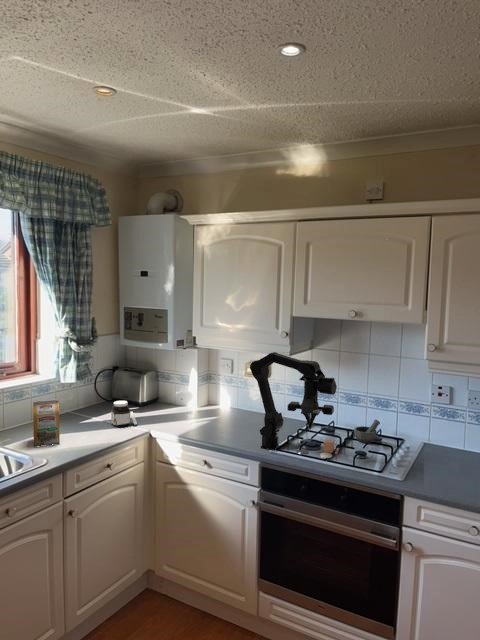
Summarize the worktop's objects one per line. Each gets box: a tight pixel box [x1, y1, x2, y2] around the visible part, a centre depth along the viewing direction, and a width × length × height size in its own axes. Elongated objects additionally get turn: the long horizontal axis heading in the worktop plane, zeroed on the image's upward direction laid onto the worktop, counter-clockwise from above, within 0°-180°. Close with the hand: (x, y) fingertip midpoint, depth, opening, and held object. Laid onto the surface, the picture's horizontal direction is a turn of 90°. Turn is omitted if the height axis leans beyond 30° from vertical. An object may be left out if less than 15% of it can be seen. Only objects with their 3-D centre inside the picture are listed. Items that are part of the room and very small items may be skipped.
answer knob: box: [323, 438, 335, 453], centre depth 210 cm, size 4×4×4 cm
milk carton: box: [32, 399, 61, 447], centre depth 219 cm, size 11×11×19 cm
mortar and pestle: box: [353, 419, 381, 445], centre depth 221 cm, size 11×9×12 cm
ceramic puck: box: [319, 452, 333, 459], centre depth 204 cm, size 5×5×2 cm
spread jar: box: [110, 400, 138, 428], centre depth 246 cm, size 12×11×12 cm
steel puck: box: [296, 449, 310, 456], centre depth 207 cm, size 5×5×2 cm
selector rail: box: [294, 442, 340, 455], centre depth 212 cm, size 18×6×2 cm, turn 70°
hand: (310, 428), depth 206 cm, fingers closed
